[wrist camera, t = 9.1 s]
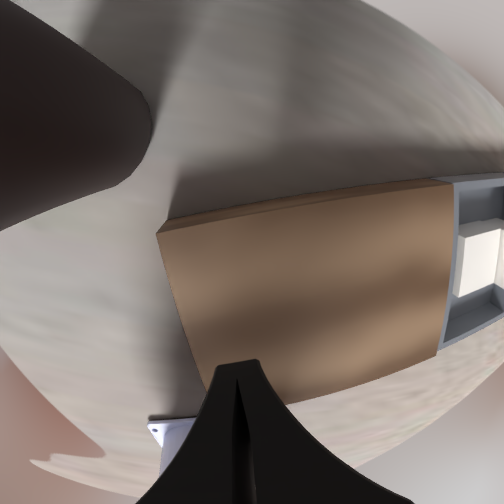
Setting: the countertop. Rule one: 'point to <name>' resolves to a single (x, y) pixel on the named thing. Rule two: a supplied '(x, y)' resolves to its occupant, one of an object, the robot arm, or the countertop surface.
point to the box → (465, 211)
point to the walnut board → (315, 283)
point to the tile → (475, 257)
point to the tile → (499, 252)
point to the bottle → (60, 119)
